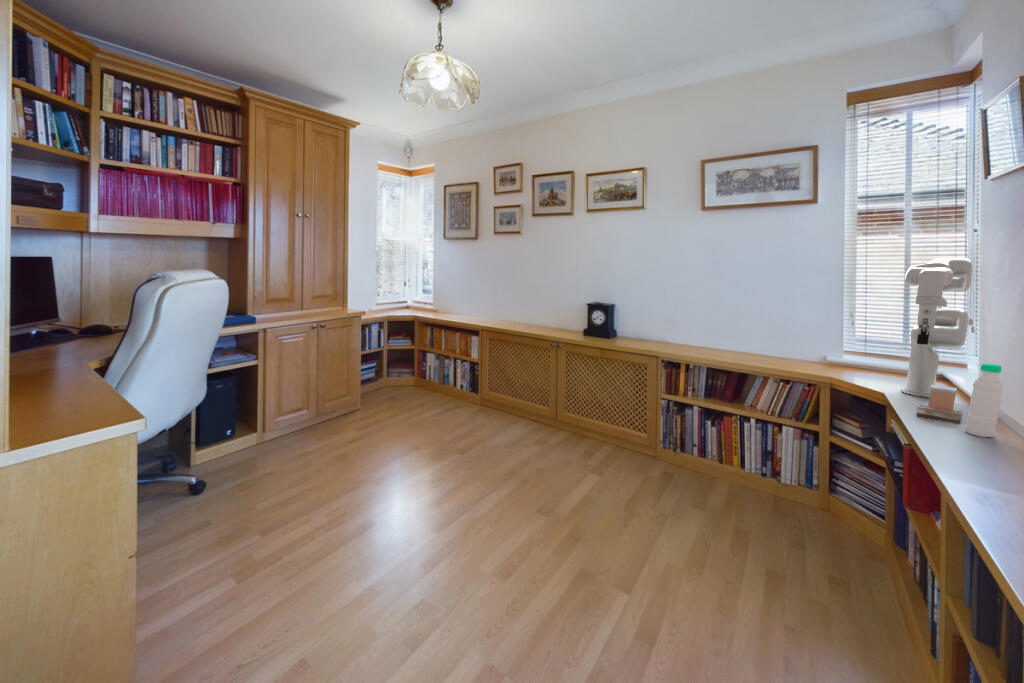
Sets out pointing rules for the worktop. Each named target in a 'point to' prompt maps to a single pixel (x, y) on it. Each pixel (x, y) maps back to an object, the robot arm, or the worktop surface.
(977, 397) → the milk bottle
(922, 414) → the shelf board
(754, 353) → the worktop surface
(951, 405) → the tea carton
